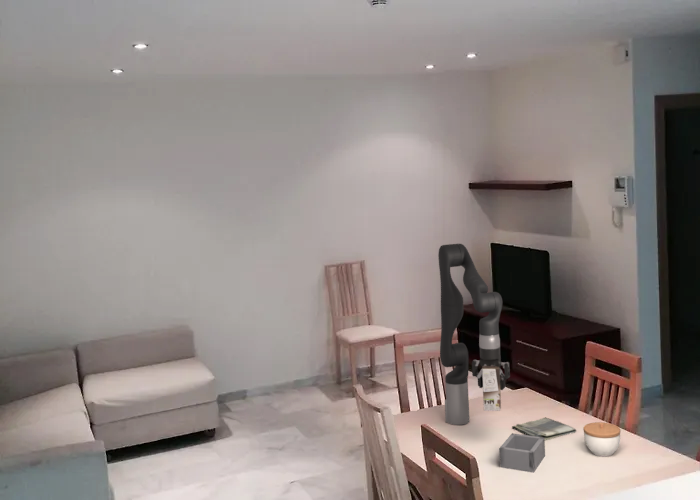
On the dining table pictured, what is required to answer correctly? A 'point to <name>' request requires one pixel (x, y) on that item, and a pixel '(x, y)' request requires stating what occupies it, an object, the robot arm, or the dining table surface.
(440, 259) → the robot arm
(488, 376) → the coffee box
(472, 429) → the dining table surface
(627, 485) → the dining table surface
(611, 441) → the lidded bowl
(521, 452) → the grey open box
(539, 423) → the dish towel
